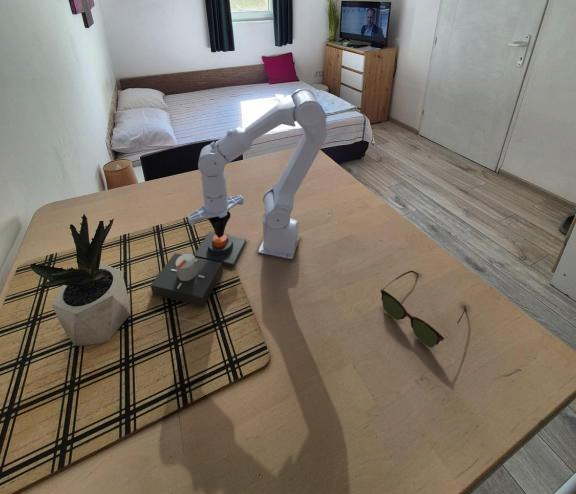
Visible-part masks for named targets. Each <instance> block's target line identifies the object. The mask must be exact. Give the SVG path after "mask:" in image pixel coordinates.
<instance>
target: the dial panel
mask: <svg viewBox="0 0 576 494" xmlns="http://www.w3.org/2000/svg"><path fill="white" fill-rule="evenodd" d="M181 255H183V254H181V253H178V252H177V253H176V252H174V253H173V255H172V256H171V257H170V258H169V260H167V263H166V264H165V265H164V266H163V268H162V269H161V271H160V272H159V273H158V275H157V276H156V277H155V278H154V280H153V281H152V283H151V284H150V290H151V293H152V295H154V296H157V297H162V298H166V299H169V300H174V301H178V302H183V303H186V304H189V305H194V306H198V307H202V308H205V306H206V304H207V302H208V300H209V298H210V297H211V294H212V293H213V291H214V289H215V287H216V285H217V284H218V282H219V280H220V278H221V276H222V274H223V273H224V272H223V271H224V270H223V265H222V263H219V262H215V261H210V260H205V259H201V258H196V257H195V260H196V267H197V274H196V276H195V277H194V278H193V279H191V280H189V281H182V280H180V279H179V278H178V274H177V269H176V260H177V259H178V258H179V257H180V256H181Z"/></svg>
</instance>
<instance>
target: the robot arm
mask: <svg viewBox="0 0 576 494" xmlns="http://www.w3.org/2000/svg"><path fill="white" fill-rule="evenodd" d="M327 118H328V115H327V114H326V111H325V109H324V108H323V106H322V104H321V103H320V102H319V101H318V98H317V96H316V95H315V93H314V92H313V91H312V90H310V89H308V88H299V89H296V90H295V91H294V92H293V93H292V94H289V95H286V96H285V97H284V98H283V99H282V100H281V101H279V102H278V103H277V104H275V106H273V107H271V109H269V110H268V111H267V112H265V113H264V114H263V115H261V116H260V117H258V118H257V119H256V120H254V121H253V122H252V123H251V124H248V125H247V127H244V128H242V127H236V128H235V129H232V128H230V129H228V130H226V134H225V135H224V136H223V137H221V138H220V139H218V140H217V141H212V142H211V143H210V144H207V145H205V146H204V147H202V149H201V151H200V154H199V157H198V161H197V168H198V171H199V172H200V174H201V178H200V179H201V188H202V195H203V196H202V197H203V205H202V206H200V207H199V208H198V209H196V210H194V212H192V213H189V214H187V223H188V224H189V225H190V226H191V227H193V226H195V225H196V223H198V222H200V221H203V220H206V219H207V220H208V221H209V223H210V225H211V226H212V228H213V231H214V233H215V234H216V235H217V237H218V238H220V237H222V236H223V235H224V233H225V230H226V226H227V224H228V222H229V221H230V219H231V212H230V211H231V210H232V209H233V208H235V206H238V205H240V206H242V205H244V204H245V201H244V197H243V196H242V195H241V194H237V195H233V196H228V189H227V176H226V172H225V167H226V165H228V164H229V163H231V162H232V161H234V160H235V159H237V158H239V157H240V156H242V155H243V154H245V153H246V152H248V151H249V150H251V149H252V146H253V142H254V141H255V140H257V139H259V138H260V137H262V136H264V135H265V134H267V133H269V132H271V131H273V130H274V129H276V128H277V127H279V126H281V125H285V126H288V127H293V128H294V127H296V123H297V124H298V125H299V126H300V127H301V128H302V129H303V134H302V136H301V138H300V139H299V142H298V144H297V145H296V147H295V149H294V151H293V153H292V155H291V157H290V159H289V160H288V162H287V164H286V166H285V168H284V170H283V172H282V174H281V176H280V178H279V180H278V182H276V183H273V184H272V186H271V188H270V189H269V190H267V191H266V192H265V193H263V194H264V195H263V197H262V202H263V207H264V214H263V215H262V240H261V241H262V242H261V244H260V245H259V248H258V251H257V252H258V253H259V254H263V255H268V256H272V257H273V256H274V257H278V258H283V259H288V260H293V259H294V256H295V254H296V250H297V247H298V244H299V241H300V238H299V227H300V225H299V220H296V219H294V218H292V217H291V213H292V211H293V209H294V203H295V195H296V194H297V192H298V190H299V188H300V187H301V186H302V183H303V181H304V180H305V178H306V176H307V174H308V172H309V170H310V169H311V167H312V165H313V163H314V162H315V160H316V158H317V157H318V155H319V153H320V151H321V149H322V147H323V145H324V143H325V142H326V140H327V138H328V130H327ZM295 122H296V123H295Z"/></svg>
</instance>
